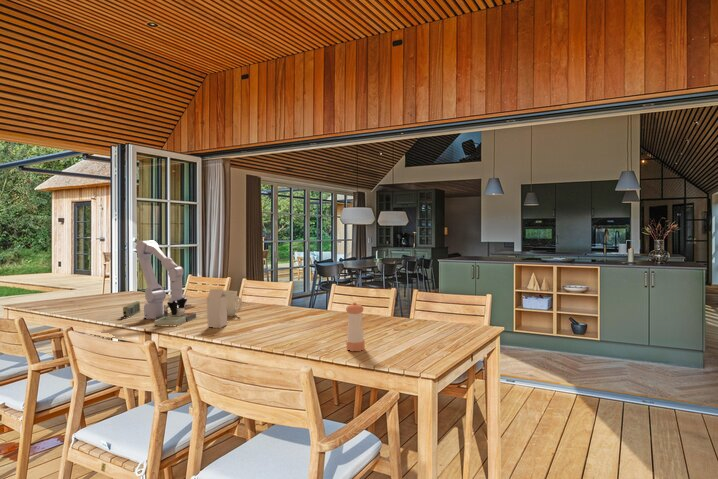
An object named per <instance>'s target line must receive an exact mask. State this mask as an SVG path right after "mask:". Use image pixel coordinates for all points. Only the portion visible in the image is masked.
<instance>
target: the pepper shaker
mask: <svg viewBox="0 0 718 479" xmlns="http://www.w3.org/2000/svg"><path fill="white" fill-rule="evenodd" d="M345 310H346V311H345V312H346V313H347V316H348V317H347V320H348V321H347V331H346V337H347V338H346V351H347V350H350V351H360V352H362V351H361V350H363V351H365V349H366V348H365V344H366V343H365V340H364V328H363V322H362V321H363V318H362V317H363V316H362V315H363V314H362V313H363V312H364V307H363V305H361V304H359V303H357V302H353V303H352V304H349V305H347V307H346V309H345ZM350 351H349V352H350Z"/></svg>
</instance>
